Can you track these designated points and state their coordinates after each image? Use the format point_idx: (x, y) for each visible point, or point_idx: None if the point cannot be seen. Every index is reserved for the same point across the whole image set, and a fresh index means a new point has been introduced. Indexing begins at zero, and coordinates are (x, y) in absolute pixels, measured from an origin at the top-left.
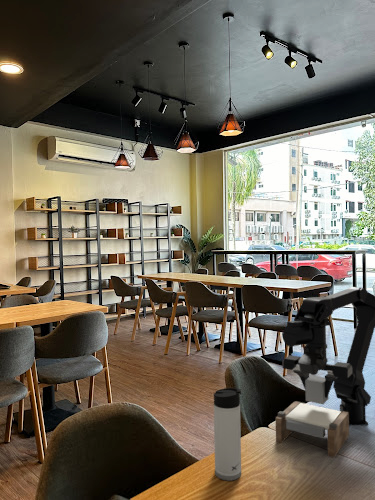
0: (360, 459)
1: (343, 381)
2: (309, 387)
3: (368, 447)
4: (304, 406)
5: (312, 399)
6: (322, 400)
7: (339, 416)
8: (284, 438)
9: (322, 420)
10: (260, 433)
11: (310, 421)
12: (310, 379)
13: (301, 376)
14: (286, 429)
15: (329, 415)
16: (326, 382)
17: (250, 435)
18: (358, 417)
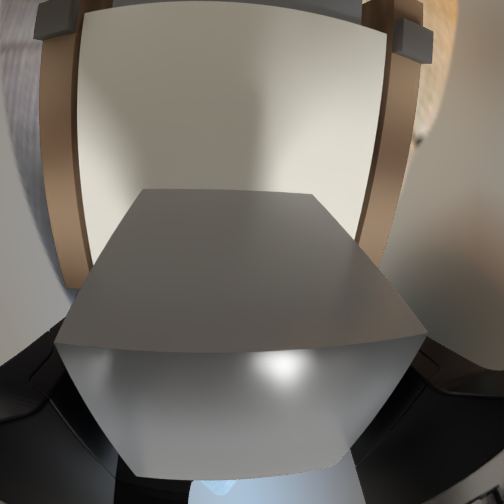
0: (24, 63)
1: (126, 469)
2: (316, 266)
3: (23, 171)
4: None
5: (250, 199)
6: (140, 200)
7: (72, 203)
8: None
9: (140, 71)
10: (428, 76)
11: (213, 12)
12: (338, 399)
13: (474, 379)
14: None
15: (124, 182)
16: (40, 385)
17: (448, 52)
18: None
